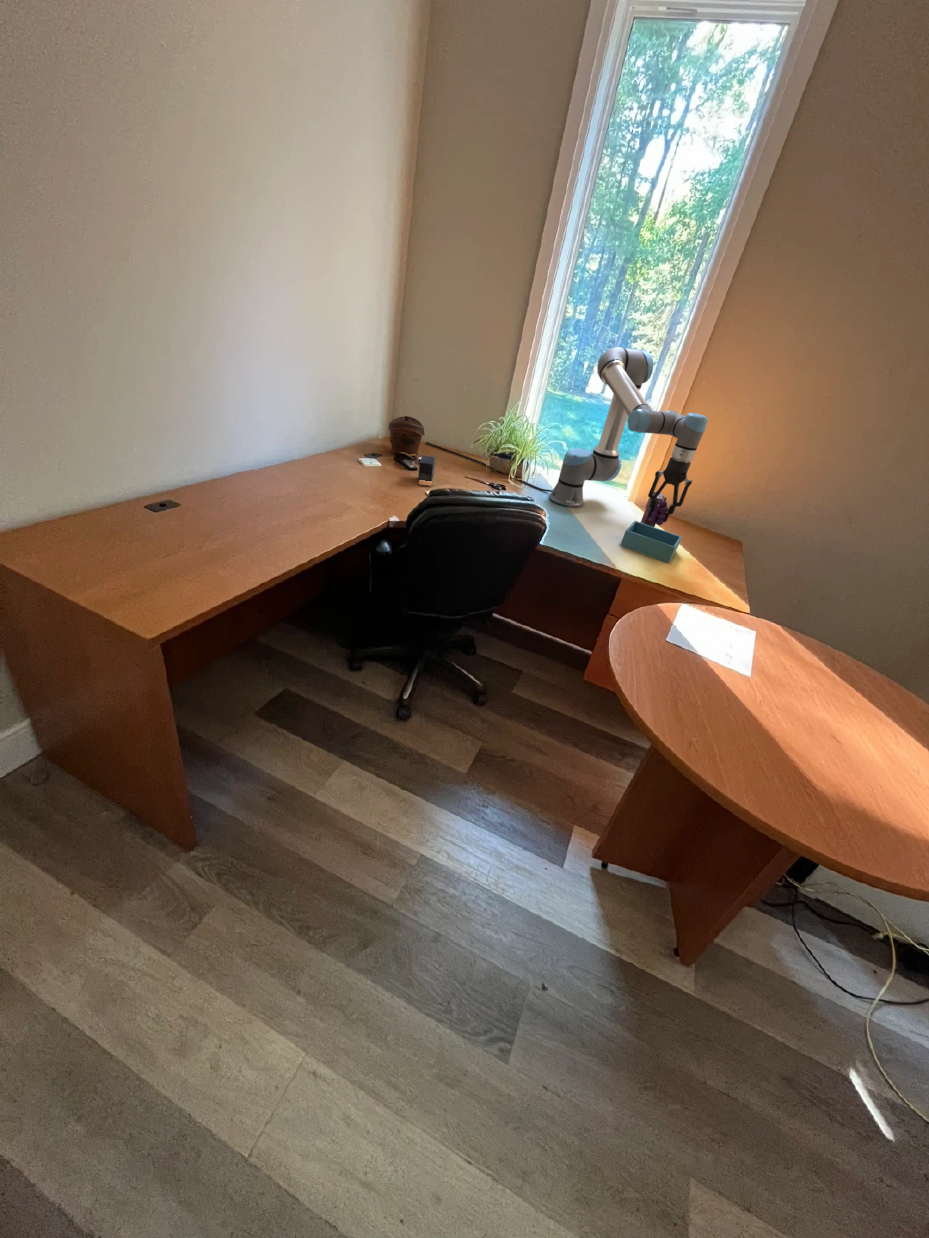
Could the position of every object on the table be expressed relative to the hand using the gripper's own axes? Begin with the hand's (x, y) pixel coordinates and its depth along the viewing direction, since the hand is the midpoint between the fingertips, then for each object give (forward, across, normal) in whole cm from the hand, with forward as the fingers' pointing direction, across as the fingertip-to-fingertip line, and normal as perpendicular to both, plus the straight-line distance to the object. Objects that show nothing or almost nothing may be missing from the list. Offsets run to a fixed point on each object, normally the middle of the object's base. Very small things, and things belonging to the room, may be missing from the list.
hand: (657, 518), depth 191 cm
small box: (+13, -100, -15) cm, 102 cm away
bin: (+13, +1, 0) cm, 13 cm away
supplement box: (+13, -5, +19) cm, 24 cm away
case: (+12, -130, +8) cm, 131 cm away
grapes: (+2, 0, 0) cm, 2 cm away
